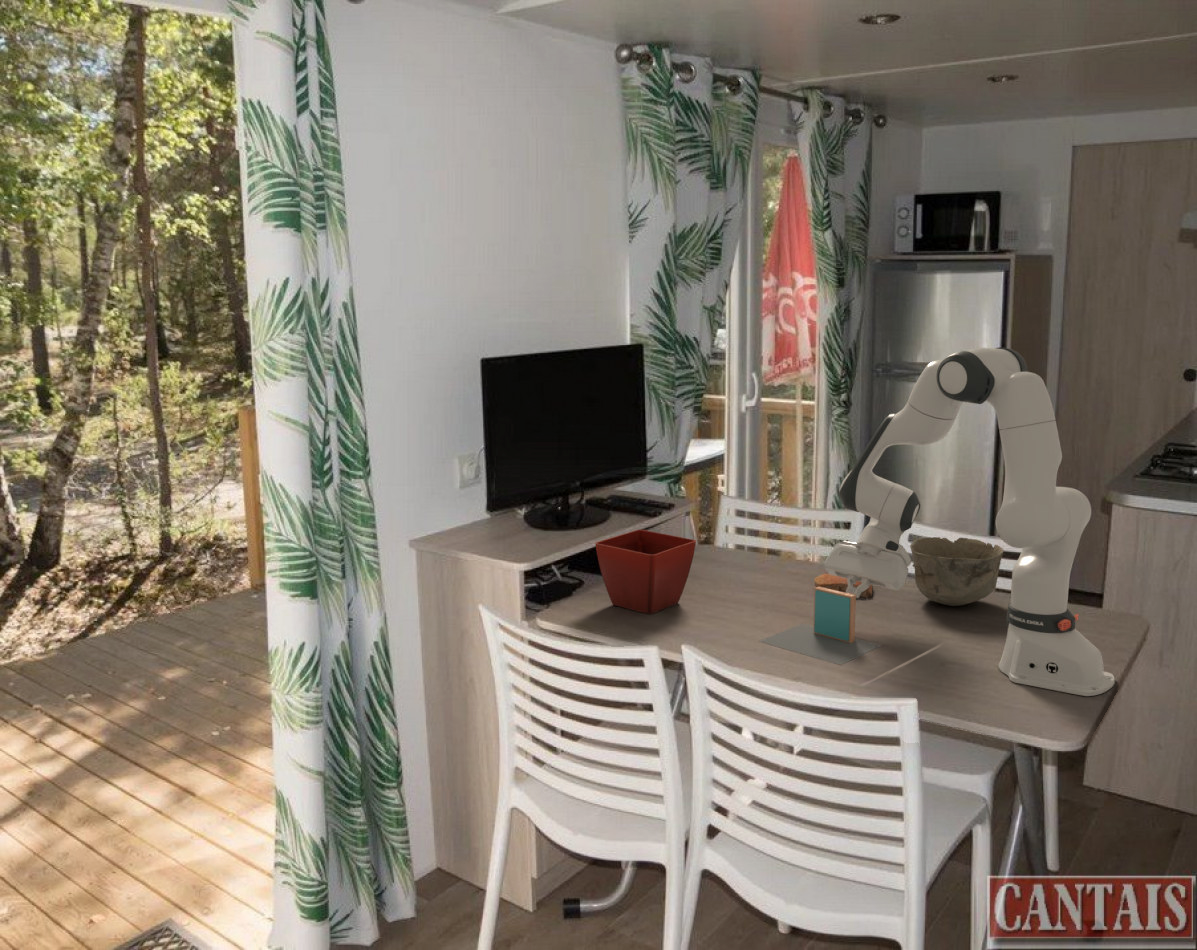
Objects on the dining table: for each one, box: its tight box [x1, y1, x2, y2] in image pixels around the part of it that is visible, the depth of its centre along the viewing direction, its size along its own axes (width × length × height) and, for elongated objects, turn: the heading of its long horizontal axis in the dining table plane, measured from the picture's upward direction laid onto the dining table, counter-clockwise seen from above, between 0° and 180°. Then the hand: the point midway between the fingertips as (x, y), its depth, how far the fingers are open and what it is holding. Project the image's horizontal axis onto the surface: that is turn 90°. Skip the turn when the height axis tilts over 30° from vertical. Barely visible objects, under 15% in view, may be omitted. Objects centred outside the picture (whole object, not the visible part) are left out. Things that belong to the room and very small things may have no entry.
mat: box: [758, 623, 883, 666], centre depth 245 cm, size 22×17×1 cm
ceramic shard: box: [814, 572, 873, 598], centre depth 288 cm, size 15×6×15 cm
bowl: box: [909, 536, 1004, 607], centre depth 272 cm, size 22×22×15 cm
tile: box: [813, 587, 857, 643], centre depth 248 cm, size 10×2×11 cm, turn 45°
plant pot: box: [594, 529, 697, 615], centre depth 275 cm, size 19×19×17 cm
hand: (851, 595), depth 253 cm, fingers closed
